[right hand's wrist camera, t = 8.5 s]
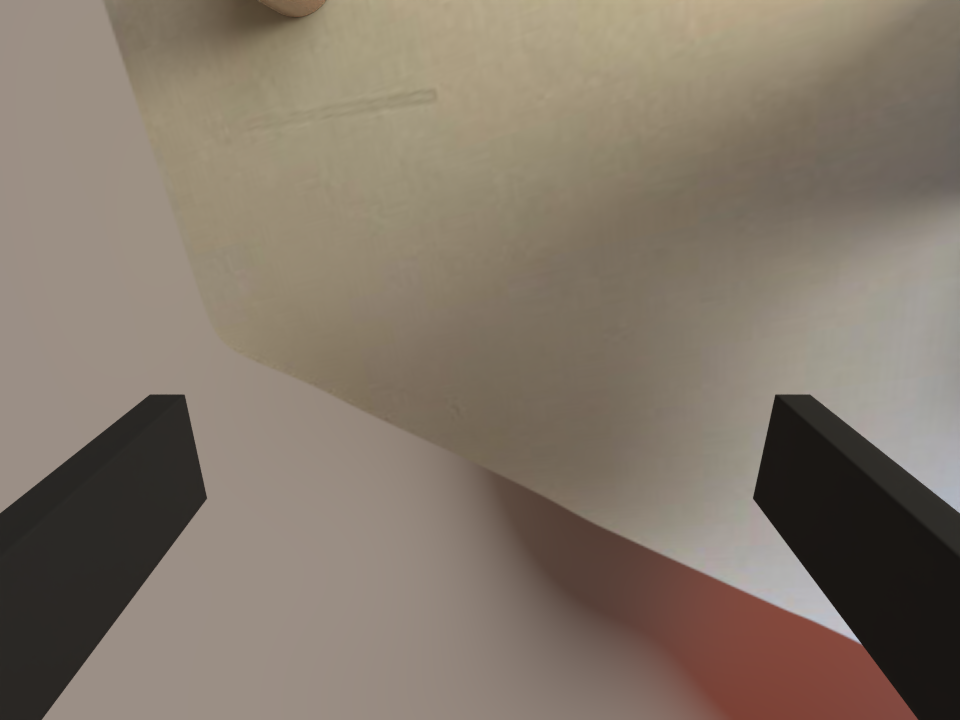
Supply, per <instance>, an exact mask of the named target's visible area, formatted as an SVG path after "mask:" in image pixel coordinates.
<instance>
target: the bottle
mask: <svg viewBox="0 0 960 720" xmlns="http://www.w3.org/2000/svg"><path fill="white" fill-rule="evenodd" d="M257 1H259V2H261V3H263V4H264V5H266V6H268V7H270V8H271V9H273V10H275V11H277V12H278V13H280V14H283V15H286V16H291V17H301V16H306V15H309V14H311V13H313V12H314V11H316V10H317V9H319V8H320V7H321V6H322V5H323V3H324V2H325V1H326V0H257Z"/></svg>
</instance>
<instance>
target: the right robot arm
mask: <svg viewBox="0 0 960 720" xmlns="http://www.w3.org/2000/svg"><path fill="white" fill-rule="evenodd" d="M206 499H207V496H206V492H205V487H204V482H203V478H202V473H201V469H200V464H199V459H198V455H197V450H196V445H195V441H194V436H193V431H192V427H191V422H190V418H189V413H188V408H187V404H186V399H185V395H149V396H148V397H146V398H145V399H144V400H143V401H141V402H140V403H139V404H138V405H136V406H135V407H134V408H133V409H131V410H130V411H129V412H128V413H126V414H125V415H124V416H123V417H121V418H120V419H119V420H117V421H116V422H115V423H114V424H112V425H111V426H110V427H109V428H107V429H106V430H105V431H104V432H102V433H101V434H100V435H99V436H97V437H96V438H95V439H93V440H92V441H91V442H90V443H88V444H87V445H86V446H85V447H83V448H82V449H81V450H80V451H78V452H77V453H76V454H75V455H73V456H72V457H71V458H70V459H68V460H67V461H66V462H64V463H63V464H62V465H61V466H59V467H58V468H57V469H56V470H54V471H53V472H52V473H51V474H49V475H48V476H47V477H46V478H44V479H43V480H42V481H41V482H39V483H38V484H37V485H35V486H34V487H33V488H32V489H31V490H29V491H28V492H27V493H25V494H24V495H23V496H22V497H20V498H19V499H18V500H17V501H15V502H14V503H13V504H12V505H10V506H9V507H8V508H6V509H5V510H4V511H3V512H1V513H0V720H42V719H43V717H44V716H45V714H46V713H47V712H48V711H49V709H50V708H51V706H52V705H53V704H54V702H55V701H56V700H57V698H58V697H59V696H60V694H61V693H62V692H63V690H64V689H65V688H66V686H67V685H68V684H69V682H70V681H71V680H72V678H73V677H74V676H75V674H76V673H77V672H78V670H79V669H80V668H81V666H82V665H83V664H84V662H85V661H86V660H87V658H88V657H89V656H90V654H91V653H92V652H93V650H94V649H95V648H96V646H97V645H98V644H99V642H100V641H101V640H102V638H103V637H104V636H105V634H106V633H107V632H108V630H109V629H110V628H111V626H112V625H113V623H114V622H115V621H116V619H117V618H118V617H119V615H120V614H121V613H122V611H123V610H124V609H125V607H126V606H127V605H128V603H129V602H130V601H131V599H132V598H133V597H134V595H135V594H136V593H137V591H138V590H139V589H140V587H141V586H142V585H143V583H144V582H145V581H146V579H147V578H148V577H149V575H150V574H151V573H152V571H153V570H154V568H155V567H156V566H157V565H158V563H159V562H160V561H161V559H162V558H163V556H164V555H165V554H166V553H167V551H168V550H169V549H170V547H171V546H172V545H173V543H174V542H175V541H176V539H177V538H178V536H179V535H180V534H181V532H182V531H183V530H184V528H185V527H186V526H187V524H188V523H189V522H190V520H191V519H192V518H193V516H194V515H195V514H196V512H197V511H198V510H199V508H200V507H201V506H202V504H203V503H204V502H205V500H206ZM753 499H754V500H755V502H756V503H757V504H758V506H759V507H760V508H761V510H762V511H763V512H764V514H765V515H766V516H767V518H768V519H769V520H770V522H771V523H772V524H773V526H774V527H775V528H776V530H777V531H778V532H779V534H780V535H781V537H782V538H783V539H784V541H785V542H786V543H787V545H788V546H789V547H790V549H791V550H792V551H793V553H794V554H795V555H796V557H797V558H798V559H799V561H800V562H801V563H802V565H803V566H804V567H805V569H806V570H807V571H808V573H809V574H810V575H811V577H812V578H813V579H814V581H815V582H816V583H817V585H818V586H819V587H820V589H821V590H822V591H823V593H824V594H825V595H826V597H827V598H828V599H829V601H830V602H831V603H832V605H833V606H834V607H835V609H836V610H837V611H838V613H839V614H840V615H841V617H842V618H843V619H844V621H845V622H846V624H847V625H848V626H849V628H850V629H851V630H852V632H853V633H854V634H855V636H856V637H857V638H858V640H859V641H860V642H861V644H862V645H863V646H864V648H865V649H866V650H867V652H868V653H869V654H870V656H871V657H872V658H873V660H874V661H875V662H876V664H877V665H878V666H879V668H880V669H881V670H882V672H883V673H884V674H885V676H886V677H887V678H888V680H889V681H890V682H891V684H892V685H893V686H894V688H895V689H896V690H897V692H898V693H899V694H900V696H901V697H902V698H903V700H904V701H905V702H906V704H907V705H908V706H909V708H910V709H911V710H912V712H913V713H914V714H915V716H916V717H917V719H918V720H960V513H959V512H957V511H956V510H955V509H954V508H952V507H951V506H950V505H948V504H947V503H946V502H945V501H943V500H942V499H941V498H940V497H938V496H937V495H936V494H935V493H933V492H932V491H931V490H930V489H928V488H927V487H926V486H925V485H923V484H922V483H921V482H919V481H918V480H917V479H916V478H914V477H913V476H912V475H911V474H909V473H908V472H907V471H906V470H904V469H903V468H902V467H901V466H899V465H898V464H897V463H896V462H894V461H893V460H892V459H890V458H889V457H888V456H887V455H885V454H884V453H883V452H882V451H880V450H879V449H878V448H877V447H875V446H874V445H873V444H872V443H870V442H869V441H868V440H867V439H865V438H864V437H863V436H861V435H860V434H859V433H858V432H856V431H855V430H854V429H853V428H851V427H850V426H849V425H848V424H846V423H845V422H844V421H843V420H841V419H840V418H839V417H838V416H836V415H835V414H834V413H832V412H831V411H830V410H829V409H827V408H826V407H825V406H824V405H822V404H821V403H820V402H819V401H817V400H816V399H815V398H814V397H812V396H811V395H775V399H774V404H773V408H772V413H771V418H770V422H769V427H768V431H767V436H766V441H765V445H764V450H763V455H762V459H761V464H760V469H759V473H758V478H757V482H756V487H755V492H754V496H753Z"/></svg>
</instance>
